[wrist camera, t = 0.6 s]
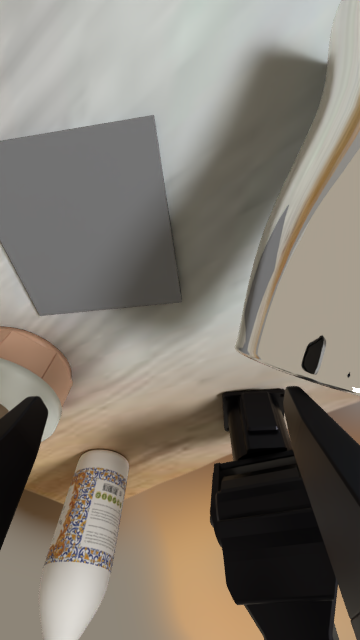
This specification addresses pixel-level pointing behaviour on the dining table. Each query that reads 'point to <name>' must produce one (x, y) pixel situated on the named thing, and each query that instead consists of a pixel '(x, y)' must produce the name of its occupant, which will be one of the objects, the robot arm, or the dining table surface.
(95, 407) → the dining table surface
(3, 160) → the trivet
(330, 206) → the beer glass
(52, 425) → the lid
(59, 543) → the bath foam
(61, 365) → the bowl
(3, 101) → the dining table surface
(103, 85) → the dining table surface
